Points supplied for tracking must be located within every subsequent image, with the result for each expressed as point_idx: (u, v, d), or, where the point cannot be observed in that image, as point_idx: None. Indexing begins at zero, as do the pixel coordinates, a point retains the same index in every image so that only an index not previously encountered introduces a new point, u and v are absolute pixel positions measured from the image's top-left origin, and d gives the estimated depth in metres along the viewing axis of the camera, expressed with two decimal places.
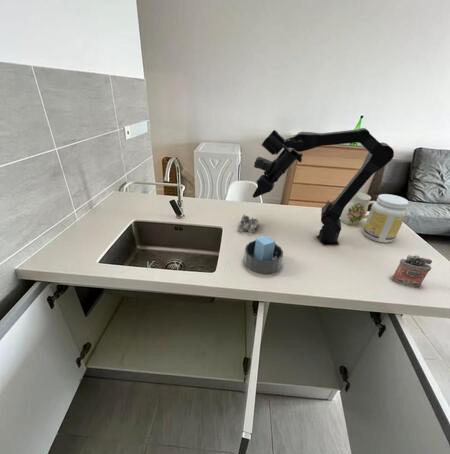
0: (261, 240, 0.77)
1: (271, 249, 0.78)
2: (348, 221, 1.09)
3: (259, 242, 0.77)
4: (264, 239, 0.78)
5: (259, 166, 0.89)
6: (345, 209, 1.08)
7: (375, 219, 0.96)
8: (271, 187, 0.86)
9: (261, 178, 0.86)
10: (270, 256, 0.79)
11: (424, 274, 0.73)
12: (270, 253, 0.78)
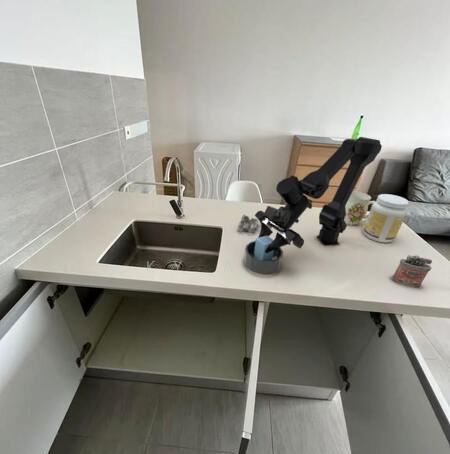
0: (261, 240, 0.77)
1: None
2: (348, 221, 1.09)
3: (259, 242, 0.77)
4: (264, 239, 0.78)
5: (284, 220, 0.71)
6: None
7: (375, 219, 0.96)
8: (303, 243, 0.73)
9: (298, 235, 0.70)
10: (270, 256, 0.79)
11: (424, 274, 0.73)
12: (270, 253, 0.78)
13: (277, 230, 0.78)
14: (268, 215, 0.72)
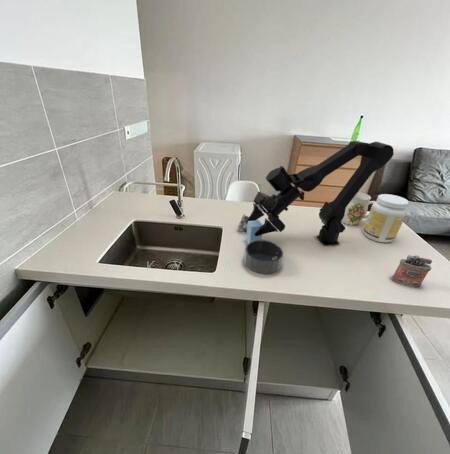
0: (251, 223, 0.89)
1: None
2: (348, 221, 1.09)
3: (249, 224, 0.89)
4: (254, 222, 0.89)
5: (268, 204, 0.81)
6: (345, 209, 1.08)
7: (375, 219, 0.96)
8: (284, 227, 0.81)
9: (276, 219, 0.79)
10: (258, 238, 0.90)
11: (424, 274, 0.73)
12: None
13: None
14: (256, 199, 0.84)
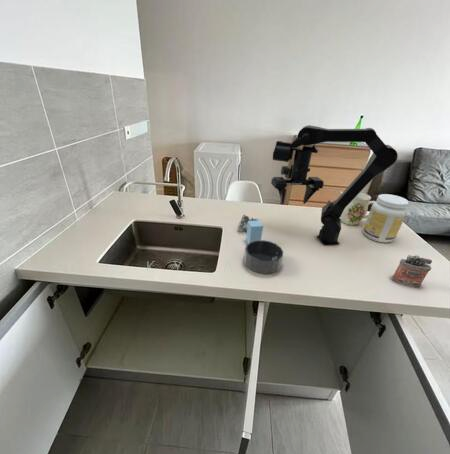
0: (251, 223, 0.89)
1: (259, 232, 0.89)
2: (348, 221, 1.09)
3: (249, 224, 0.89)
4: (254, 222, 0.89)
5: (282, 172, 0.95)
6: (345, 209, 1.08)
7: (375, 219, 0.96)
8: (276, 182, 0.88)
9: None
10: (258, 238, 0.90)
11: (424, 274, 0.73)
12: (257, 235, 0.89)
13: (296, 184, 0.92)
14: None
